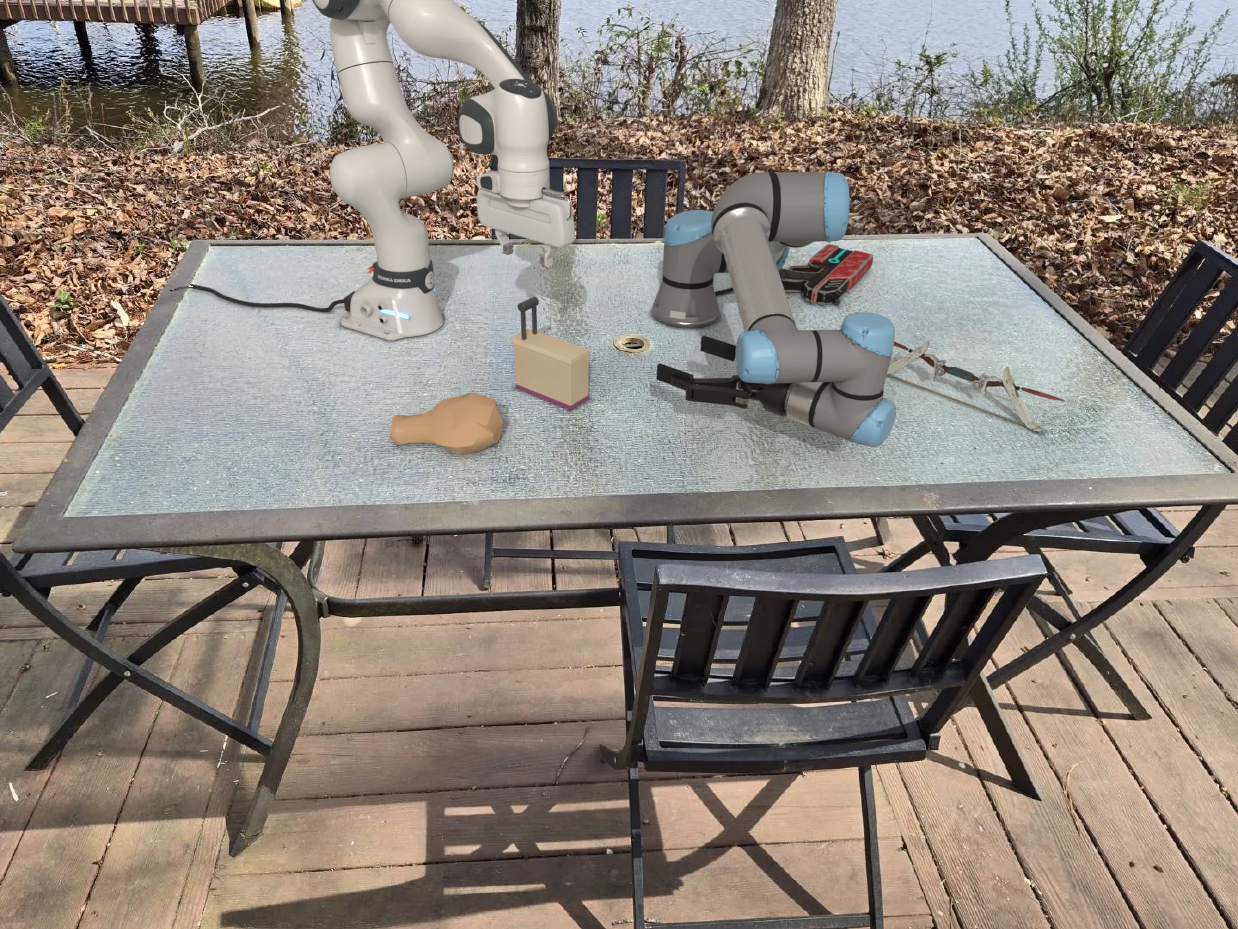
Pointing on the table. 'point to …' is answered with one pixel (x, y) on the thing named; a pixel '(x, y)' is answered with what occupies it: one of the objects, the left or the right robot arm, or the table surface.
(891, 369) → the bow
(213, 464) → the table surface
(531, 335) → the lid
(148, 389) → the table surface
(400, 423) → the squash
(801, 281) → the gun
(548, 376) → the chest
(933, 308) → the table surface
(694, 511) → the table surface
